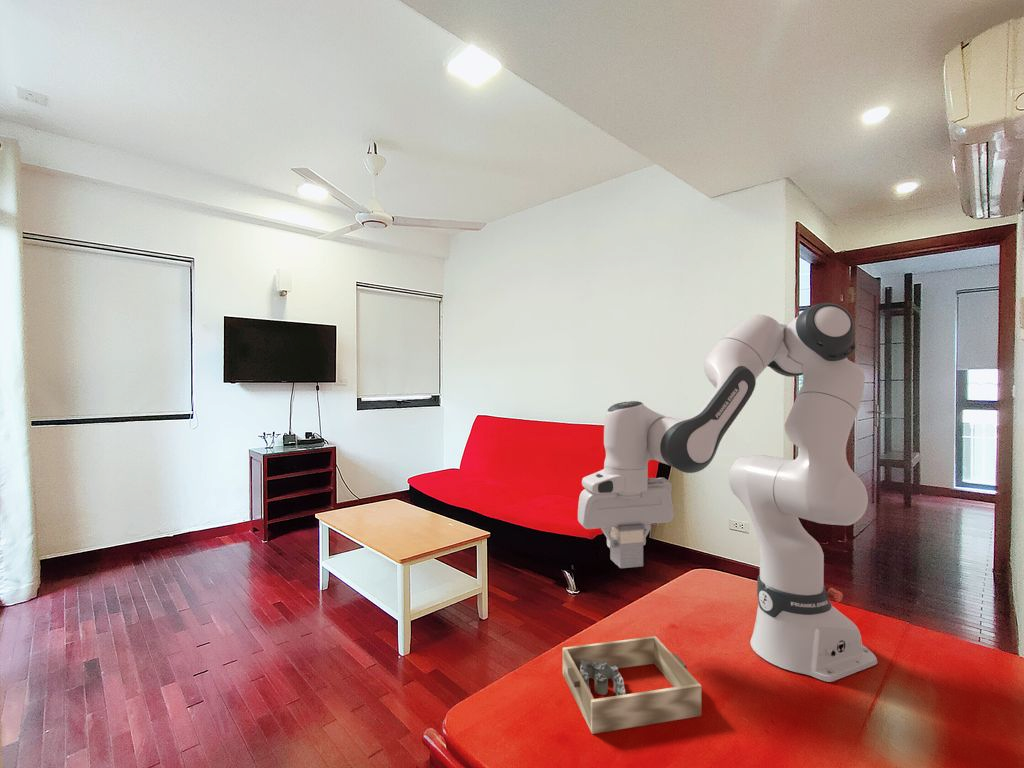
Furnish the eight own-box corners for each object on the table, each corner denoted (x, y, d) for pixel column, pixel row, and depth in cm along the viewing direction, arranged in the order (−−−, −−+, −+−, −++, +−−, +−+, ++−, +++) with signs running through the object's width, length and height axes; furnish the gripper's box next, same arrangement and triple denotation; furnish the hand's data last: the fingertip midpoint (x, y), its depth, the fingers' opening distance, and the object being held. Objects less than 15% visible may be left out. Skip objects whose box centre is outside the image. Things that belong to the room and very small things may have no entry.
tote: (659, 660, 91) (659, 635, 91) (706, 715, 77) (706, 684, 77) (558, 674, 87) (558, 648, 87) (586, 734, 73) (586, 703, 72)
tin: (632, 556, 100) (632, 517, 100) (643, 566, 95) (643, 525, 95) (609, 558, 99) (609, 519, 99) (620, 568, 94) (620, 526, 94)
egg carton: (627, 723, 75) (627, 698, 75) (580, 719, 76) (580, 694, 76) (620, 680, 86) (620, 658, 86) (579, 676, 87) (579, 655, 87)
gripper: (663, 473, 102) (663, 536, 102) (574, 479, 98) (575, 544, 98) (679, 480, 96) (679, 546, 96) (585, 486, 92) (586, 555, 92)
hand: (626, 545), depth 97 cm, fingers closed on tin, 5 cm apart
